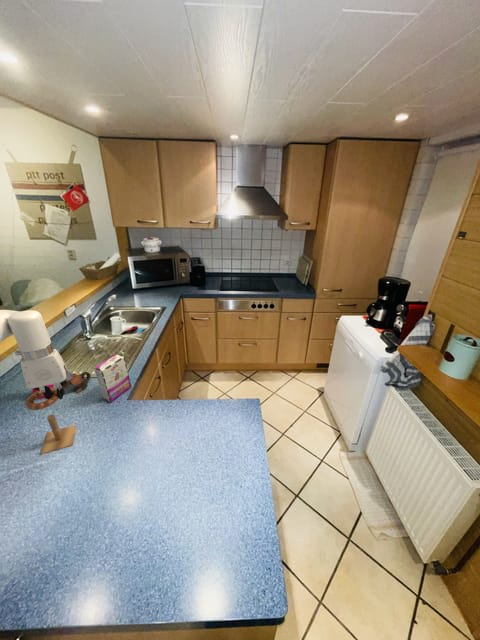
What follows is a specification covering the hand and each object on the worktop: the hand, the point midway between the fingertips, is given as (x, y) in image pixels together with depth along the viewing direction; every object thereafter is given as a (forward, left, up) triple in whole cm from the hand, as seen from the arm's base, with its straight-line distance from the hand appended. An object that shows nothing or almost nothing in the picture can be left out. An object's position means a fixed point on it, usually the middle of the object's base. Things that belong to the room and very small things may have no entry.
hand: (56, 397), depth 83 cm
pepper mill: (-12, +26, -17) cm, 33 cm away
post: (-2, -3, -16) cm, 17 cm away
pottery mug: (0, +26, -17) cm, 31 cm away
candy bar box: (+16, +16, -17) cm, 28 cm away
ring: (-3, 0, +1) cm, 4 cm away
